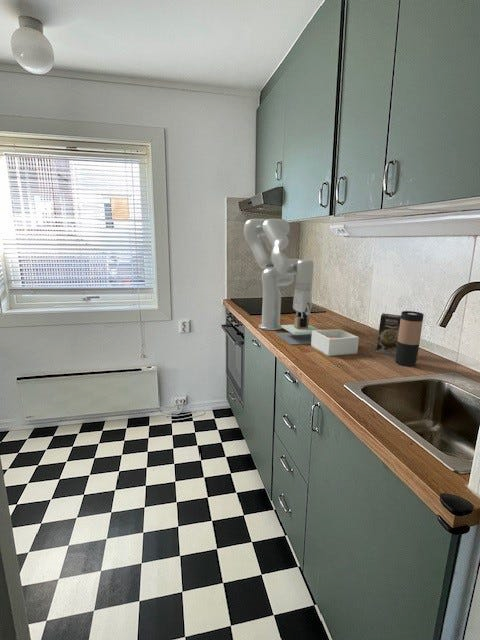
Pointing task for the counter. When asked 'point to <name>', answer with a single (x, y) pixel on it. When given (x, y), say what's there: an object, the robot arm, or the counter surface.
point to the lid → (297, 329)
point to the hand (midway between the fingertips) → (301, 325)
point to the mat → (295, 338)
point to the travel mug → (409, 338)
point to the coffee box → (388, 334)
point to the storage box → (334, 342)
